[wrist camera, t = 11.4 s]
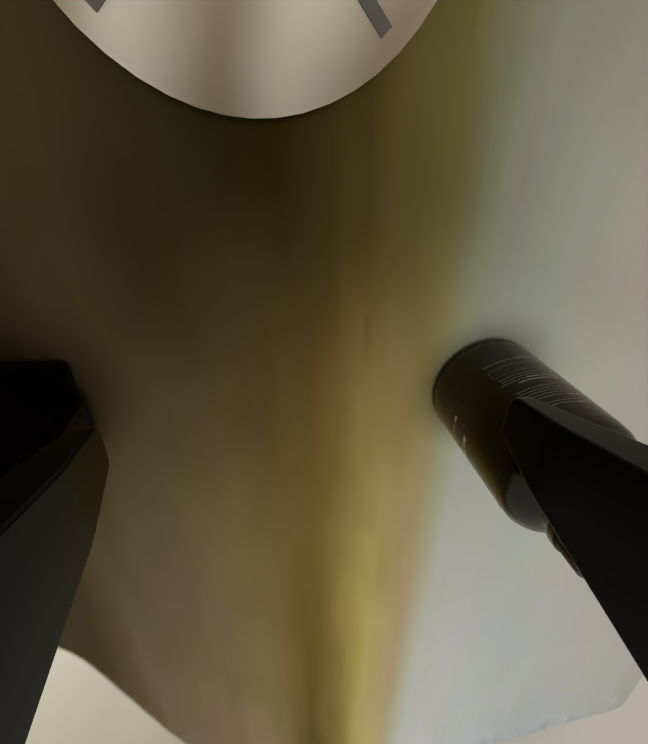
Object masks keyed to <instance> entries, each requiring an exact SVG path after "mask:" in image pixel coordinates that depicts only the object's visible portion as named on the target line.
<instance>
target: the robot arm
mask: <svg viewBox="0 0 648 744" xmlns="http://www.w3.org/2000/svg"><path fill="white" fill-rule="evenodd" d="M53 369H57V370H59V371H60V372H61V374H59V373H56V372H55V371H54V370H53ZM502 433H503V436H504V438H505V440H506V443H507V445H508V447H509V449H510V451H511V453H512V455H513V457H514V459H515V461H516V463H517V465H518V467H519V469H520V471H521V473H522V475H523V477H524V479H525V481H526V483H527V485H528V487H529V489H530V491H531V493H532V495H533V496H534V498H535V500H536V501H537V503H538V505H539V506H540V508H541V509H542V511H543V513H544V514H545V516H546V518H547V519H548V521H549V522H550V524H551V526H552V527H553V529H554V530H555V532H556V534H557V535H558V537H559V539H560V540H561V542H562V543H563V545H564V547H565V548H566V550H567V552H568V553H569V555H570V556H571V558H572V560H573V561H574V563H575V564H576V566H577V568H578V569H579V571H580V573H581V574H582V576H583V577H584V579H585V581H586V582H587V584H588V585H589V587H590V589H591V590H592V592H593V594H594V595H595V597H596V598H597V600H598V602H599V603H600V605H601V607H602V608H603V610H604V611H605V613H606V615H607V616H608V618H609V619H610V621H611V623H612V624H613V626H614V628H615V629H616V631H617V632H618V634H619V636H620V637H621V639H622V641H623V642H624V644H625V645H626V647H627V649H628V650H629V652H630V653H631V655H632V657H633V658H634V660H635V662H636V663H637V665H638V666H639V668H640V670H641V671H642V673H643V675H644V676H645V678H646V679H647V681H648V445H646V444H643V443H641V442H638V441H636V440H633V439H631V438H629V437H626V436H624V435H621V434H619V433H617V432H614V431H612V430H609V429H607V428H605V427H602V426H600V425H597V424H595V423H593V422H590V421H588V420H585V419H583V418H581V417H578V416H576V415H573V414H571V413H569V412H566V411H564V410H561V409H559V408H556V407H554V406H552V405H549V404H547V403H544V402H542V401H540V400H537V399H535V398H532V397H521V398H515V399H513V400H512V401H511V402H510V404H509V407H508V410H507V413H506V416H505V419H504V422H503V426H502ZM108 469H109V461H108V456H107V453H106V450H105V446H104V443H103V440H102V437H101V434H100V431H99V430H98V429H97V428H95V427H92V425H91V422H90V418H89V415H88V412H87V409H86V406H85V403H84V401H83V400H82V399H81V398H80V397H79V396H78V393H77V390H76V387H75V384H74V381H73V378H72V375H71V372H70V369H69V367H68V366H67V365H66V364H65V363H63V362H61V361H39V362H16V363H0V744H25V742H26V739H27V736H28V733H29V730H30V727H31V724H32V721H33V718H34V715H35V712H36V709H37V707H38V703H39V701H40V697H41V695H42V692H43V689H44V686H45V683H46V680H47V677H48V674H49V671H50V668H51V665H52V662H53V659H54V656H55V653H56V650H57V647H58V644H59V641H60V638H61V636H62V633H63V630H64V627H65V624H66V621H67V618H68V615H69V612H70V609H71V606H72V603H73V600H74V597H75V594H76V591H77V588H78V585H79V582H80V579H81V576H82V573H83V570H84V567H85V564H86V562H87V559H88V556H89V553H90V549H91V546H92V543H93V539H94V535H95V531H96V527H97V522H98V517H99V512H100V507H101V503H102V498H103V493H104V488H105V484H106V479H107V474H108Z"/></svg>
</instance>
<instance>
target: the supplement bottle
mask: <svg viewBox="0 0 648 744" xmlns="http://www.w3.org/2000/svg"><path fill="white" fill-rule="evenodd" d="M521 397H532V398H535V399H537V400H540V401H542V402H544V403H547V404H549V405H552V406H554V407H556V408H559V409H561V410H564V411H566V412H569V413H571V414H573V415H576V416H578V417H581V418H583V419H585V420H588V421H590V422H593V423H595V424H597V425H600V426H602V427H605V428H607V429H609V430H612V431H614V432H617V433H619V434H621V435H624V436H626V437H629V438H631V439H633V440H636V438H635V437H634V436H633V434H632V433H631V432H630V431H629V430H628V429H627V428H626V427H625V426H623V425H622V424H621V423H620V422H619V421H618V420H616V419H615V418H614V417H612V416H611V415H610V414H609V413H607V412H606V411H605V410H603V409H602V408H601V407H600V406H598V405H597V404H596V403H594V402H593V401H592V400H591V399H589V398H588V397H587V396H586V395H584V394H583V393H582V392H580V391H579V390H578V389H577V388H575V387H574V386H573V385H571V384H570V383H569V382H568V381H566V380H565V379H564V378H562V377H561V376H560V375H559V374H557V373H556V372H555V371H553V370H552V369H551V368H550V367H548V366H547V365H546V364H544V363H543V362H542V361H541V360H539V359H538V358H537V357H535V356H534V355H533V354H531V353H530V352H529V351H527V350H526V349H524V348H523V347H521V346H519V345H517V344H514V343H511V342H505V341H494V342H488V343H484V344H480V345H477V346H475V347H473V348H470V349H469V350H467V351H465V352H464V353H462V354H461V355H459V356H458V357H457V358H456V359H454V360H453V361H452V362H451V363H450V364H449V366H448V367H447V368H446V369H445V371H444V372H443V374H442V375H441V377H440V379H439V381H438V384H437V387H436V391H435V407H436V411H437V413H438V415H439V417H440V419H441V420H442V422H443V423H444V425H445V427H446V428H447V429H448V431H449V432H450V434H451V435H452V437H453V438H454V440H455V441H456V443H457V444H458V446H459V447H460V448H461V450H462V451H463V453H464V454H465V456H466V457H467V459H468V460H469V462H470V463H471V464H472V466H473V467H474V469H475V470H476V472H477V473H478V475H479V476H480V478H481V479H482V481H483V482H484V483H485V485H486V486H487V488H488V489H489V491H490V492H491V494H492V495H493V497H494V498H495V499H496V501H497V502H498V504H499V505H500V507H501V508H502V509H503V511H504V512H505V513H506V515H507V516H508V517H509V518H510V519H511V520H513V521H514V522H515V523H517V524H519V525H520V526H522V527H524V528H527V529H530V530H532V531H536V532H542V533H546V534H547V537H548V539H549V541H550V542H551V543H552V545H553V546H554V547H555V548H556V550H558V551H559V552H561V554H562V555H563V556H564V558H565V559H566V560H567V562H568V563H569V564H570V566H571V567H572V568H573V570H574V571H575V572H576V574H577V575H578V576H580V577H582V578H584V577H583V576H582V574H581V573H580V571H579V569H578V568H577V566H576V564H575V563H574V561H573V560H572V558H571V556H570V555H569V553H568V552H567V550H566V548H565V547H564V545H563V543H562V542H561V540H560V539H559V537H558V535H557V534H556V532H555V530H554V529H553V527H552V526H551V524H550V522H549V521H548V519H547V518H546V516H545V514H544V513H543V511H542V509H541V508H540V506H539V505H538V503H537V501H536V500H535V498H534V496H533V495H532V493H531V491H530V489H529V487H528V485H527V483H526V481H525V479H524V477H523V475H522V473H521V471H520V469H519V467H518V465H517V463H516V461H515V459H514V457H513V455H512V453H511V451H510V449H509V447H508V445H507V443H506V440H505V438H504V436H503V433H502V426H503V422H504V419H505V416H506V413H507V410H508V407H509V404H510V402H511V401H512V400H513V399H515V398H521ZM636 441H637V440H636Z"/></svg>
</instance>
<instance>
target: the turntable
mask: <svg viewBox="0 0 648 744" xmlns="http://www.w3.org/2000/svg"><path fill="white" fill-rule="evenodd" d="M53 1H54V2H55V3H56V4H57V5H58V7H59V8H60V9H61V10H62V11H63V12H64V13H65V14H66V16H67V17H68V18H69V19H70V20H71V21H72V22H73V23H74V25H75V26H76V27H77V28H78V29H80V30H81V31H82V32H83V33H84V34H85V35H86V36H87V37H88V38H89V39H90V40H91V41H92V42H94V43H95V44H96V45H97V46H98V47H99V48H100V49H101V50H102V51H103V52H104V53H105V54H107V55H108V56H109V57H111V58H112V59H113V60H115V61H116V62H117V63H119V64H120V65H121V66H123V67H124V68H125V69H127V70H128V71H129V72H131V73H132V74H133V75H135V76H136V77H138V78H139V79H141V80H143V81H144V82H146V83H148V84H150V85H151V86H153V87H155V88H156V89H158V90H160V91H161V92H163V93H165V94H167V95H169V96H171V97H173V98H176V99H178V100H180V101H183V102H185V103H187V104H190V105H192V106H194V107H197V108H200V109H203V110H207V111H210V112H214V113H218V114H221V115H225V116H233V117H241V118H249V119H264V118H281V117H286V116H292V115H297V114H302V113H305V112H308V111H311V110H314V109H317V108H320V107H322V106H325V105H328V104H331V103H333V102H334V101H336V100H338V99H340V98H342V97H344V96H346V95H348V94H349V93H351V92H353V91H355V90H356V89H358V88H359V87H360V86H362V85H363V84H364V83H366V82H367V81H368V80H370V79H371V78H373V77H374V76H375V75H377V74H378V73H379V72H380V71H381V70H382V69H383V68H384V67H385V66H386V65H387V64H388V63H389V62H390V61H391V60H392V59H393V58H394V57H396V56H397V55H398V54H399V53H400V51H401V50H402V49H403V48H404V46H405V45H406V44H407V43H408V41H409V40H410V39H411V38H412V36H413V35H414V34H415V33H416V32H417V30H418V29H419V28H420V26H421V25H422V23H423V22H424V20H425V18H426V17H427V15H428V14H429V12H430V11H431V9H432V7H433V6H434V4H435V3H436V1H437V0H53Z"/></svg>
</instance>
